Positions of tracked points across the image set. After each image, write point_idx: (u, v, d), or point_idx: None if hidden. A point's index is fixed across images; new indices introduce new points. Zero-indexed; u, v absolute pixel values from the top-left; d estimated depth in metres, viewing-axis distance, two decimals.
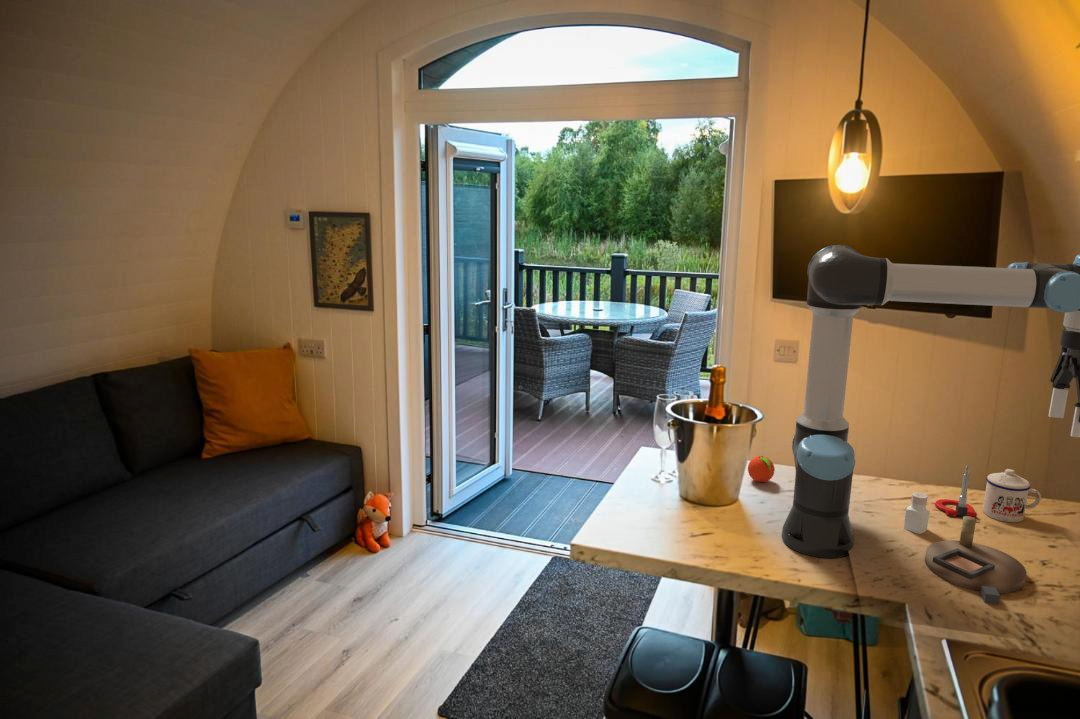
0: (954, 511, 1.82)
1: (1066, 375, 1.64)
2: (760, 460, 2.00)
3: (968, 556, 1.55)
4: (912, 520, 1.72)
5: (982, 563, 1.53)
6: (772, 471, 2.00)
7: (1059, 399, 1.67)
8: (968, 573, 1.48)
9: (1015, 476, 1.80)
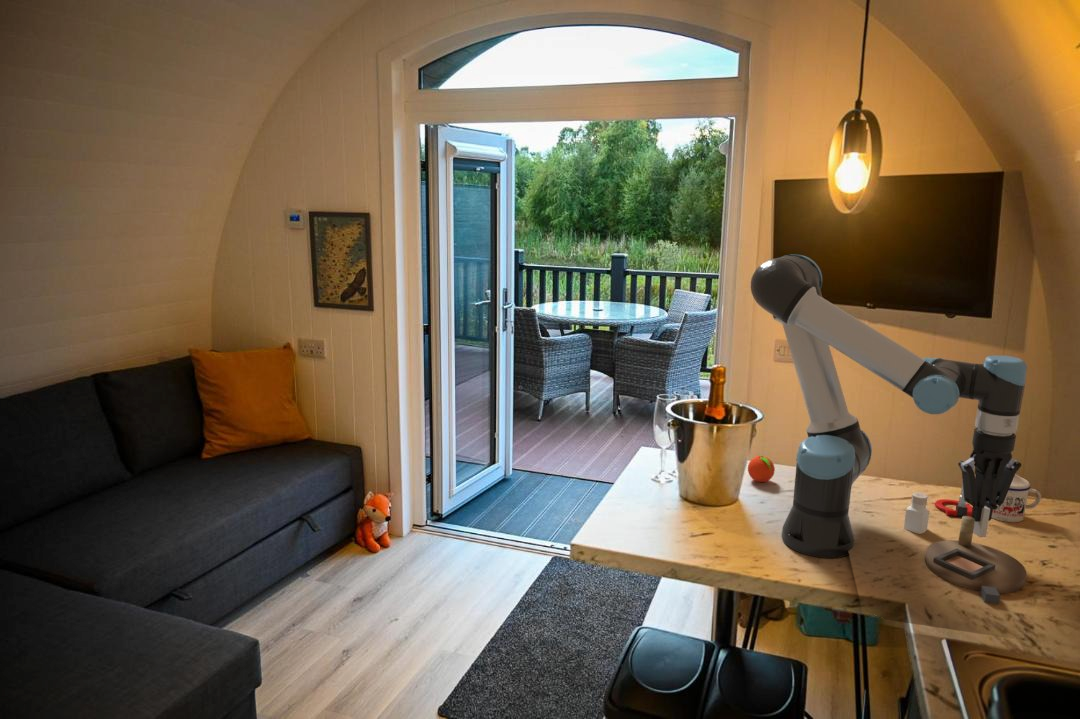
0: (954, 511, 1.82)
1: (988, 483, 1.60)
2: (760, 460, 2.00)
3: (968, 556, 1.55)
4: (912, 520, 1.72)
5: (982, 563, 1.53)
6: (772, 471, 2.00)
7: None
8: (969, 573, 1.48)
9: (1015, 476, 1.80)
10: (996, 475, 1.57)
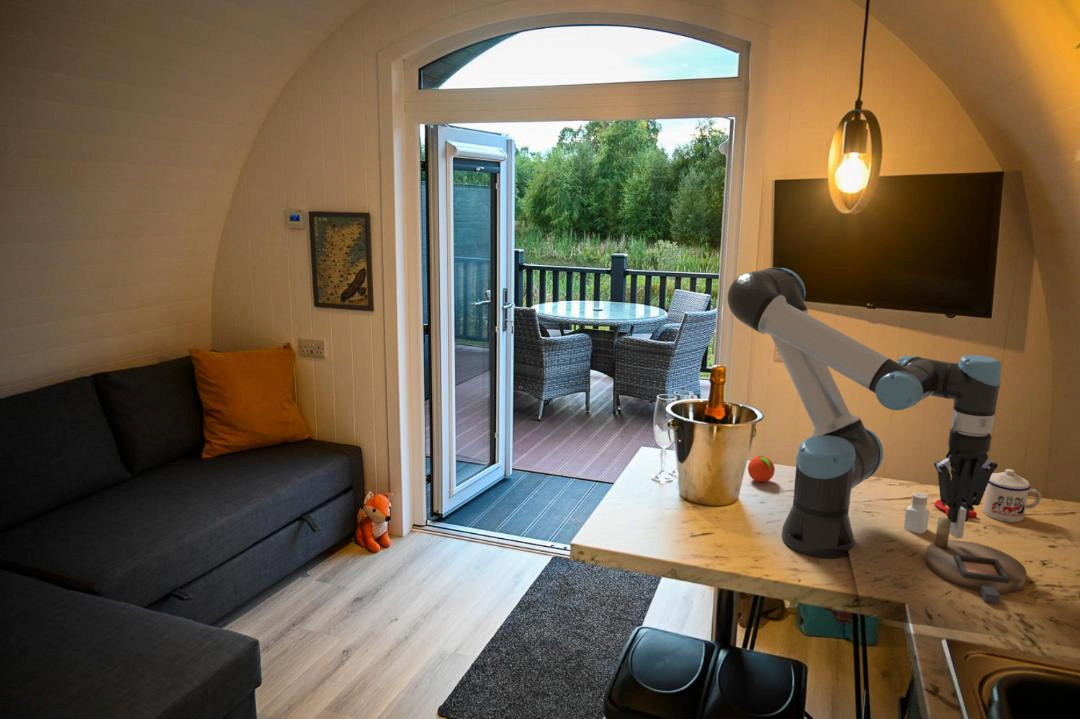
0: None
1: (965, 483, 1.59)
2: (760, 460, 2.00)
3: (971, 558, 1.54)
4: (912, 520, 1.72)
5: (987, 561, 1.54)
6: (772, 471, 2.00)
7: None
8: (1005, 578, 1.47)
9: (1015, 476, 1.80)
10: (972, 476, 1.57)
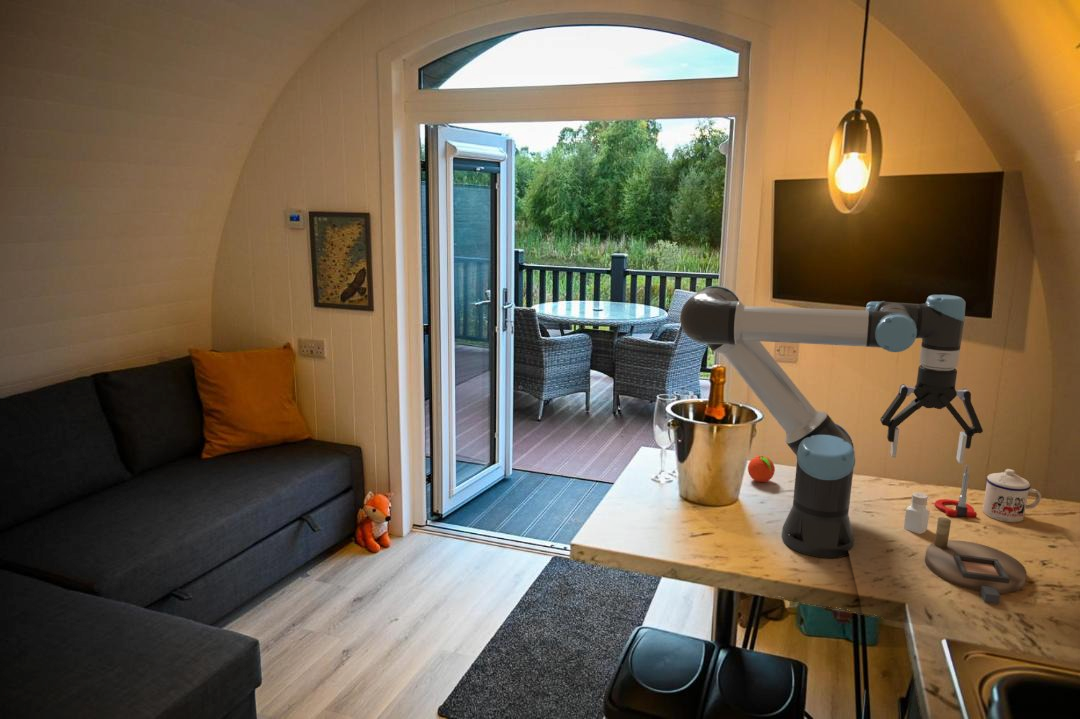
0: (954, 511, 1.83)
1: None
2: (760, 460, 2.00)
3: (971, 558, 1.54)
4: (912, 520, 1.72)
5: (987, 561, 1.54)
6: (772, 471, 2.00)
7: (960, 443, 1.67)
8: (1005, 578, 1.47)
9: (1015, 476, 1.80)
10: (948, 409, 1.64)
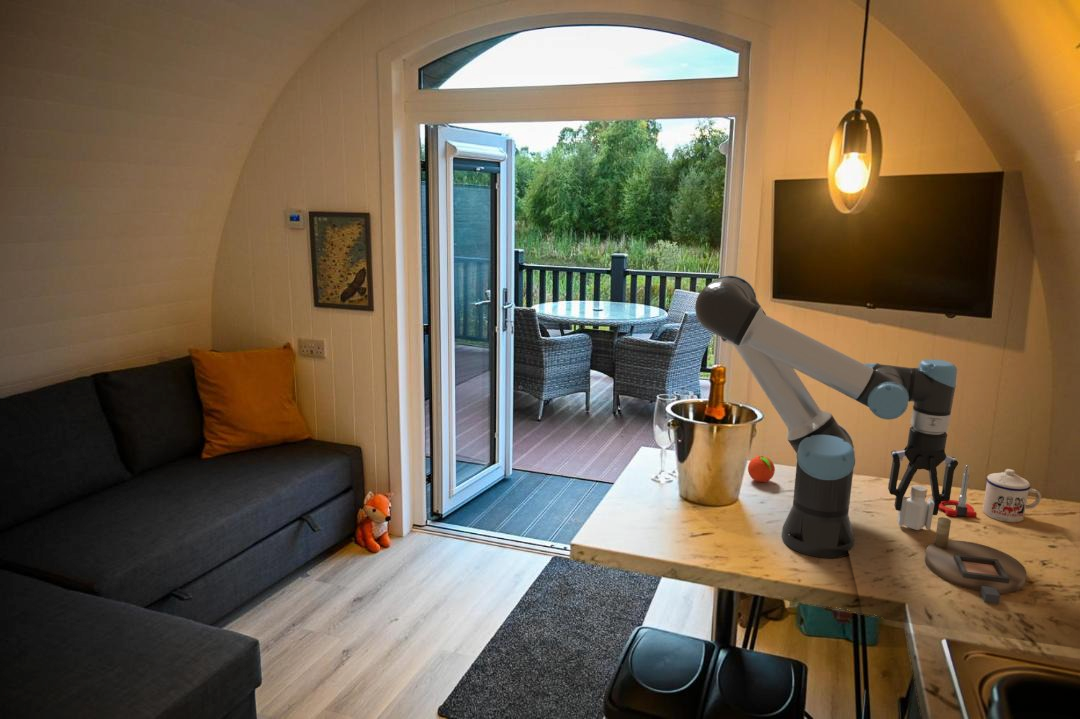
0: (954, 511, 1.83)
1: (930, 479, 1.70)
2: (760, 460, 2.00)
3: (971, 558, 1.54)
4: (911, 513, 1.71)
5: (987, 561, 1.54)
6: (772, 471, 2.00)
7: (928, 509, 1.72)
8: (1005, 578, 1.47)
9: (1015, 476, 1.80)
10: (930, 472, 1.68)
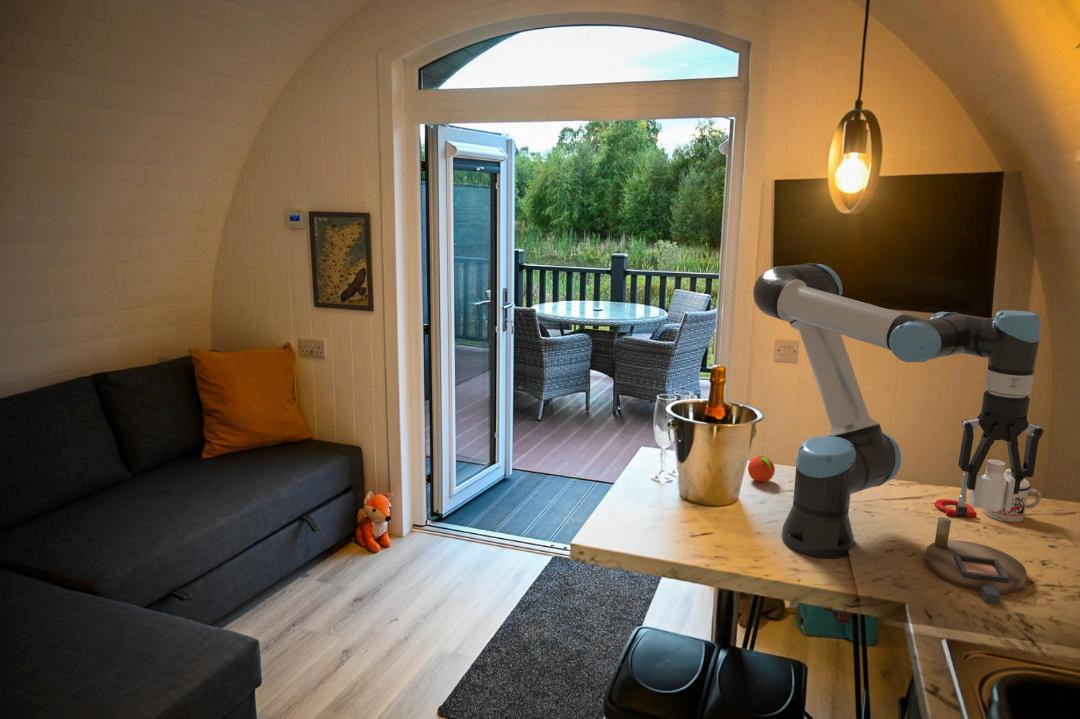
0: (954, 511, 1.83)
1: (1009, 452, 1.46)
2: (760, 460, 2.00)
3: (971, 558, 1.54)
4: (987, 491, 1.46)
5: (987, 561, 1.54)
6: (772, 471, 2.00)
7: None
8: (1005, 578, 1.47)
9: None
10: (1010, 443, 1.43)
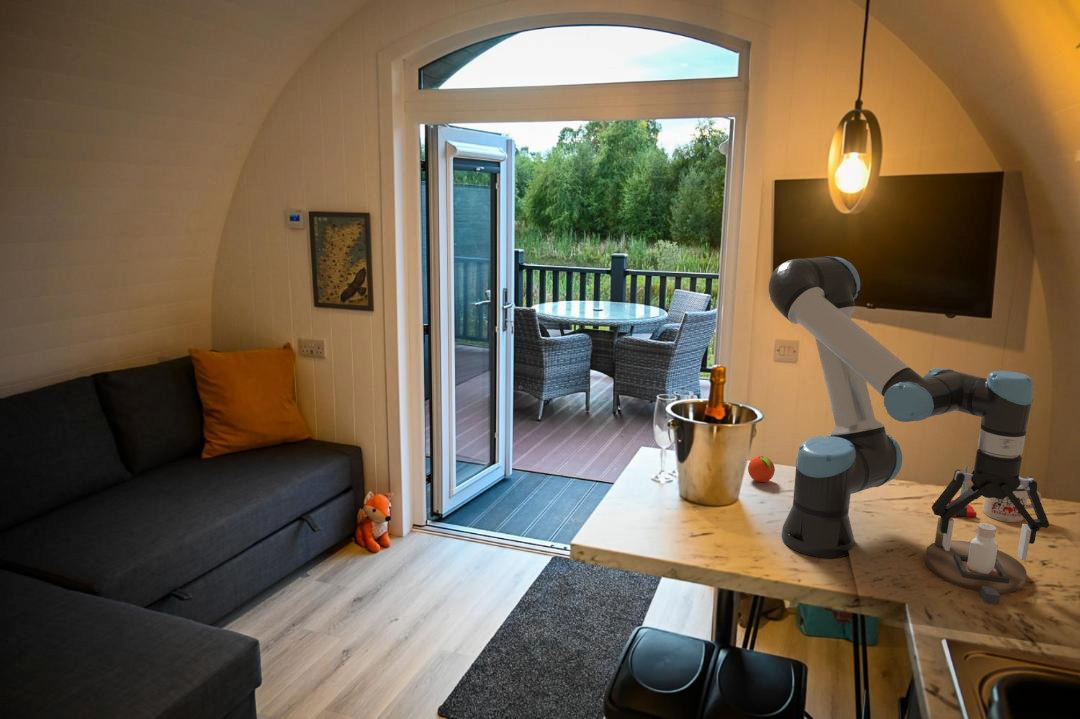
0: None
1: None
2: (760, 460, 2.00)
3: None
4: (978, 555, 1.49)
5: None
6: (772, 471, 2.00)
7: (1022, 537, 1.48)
8: (1005, 578, 1.47)
9: None
10: None
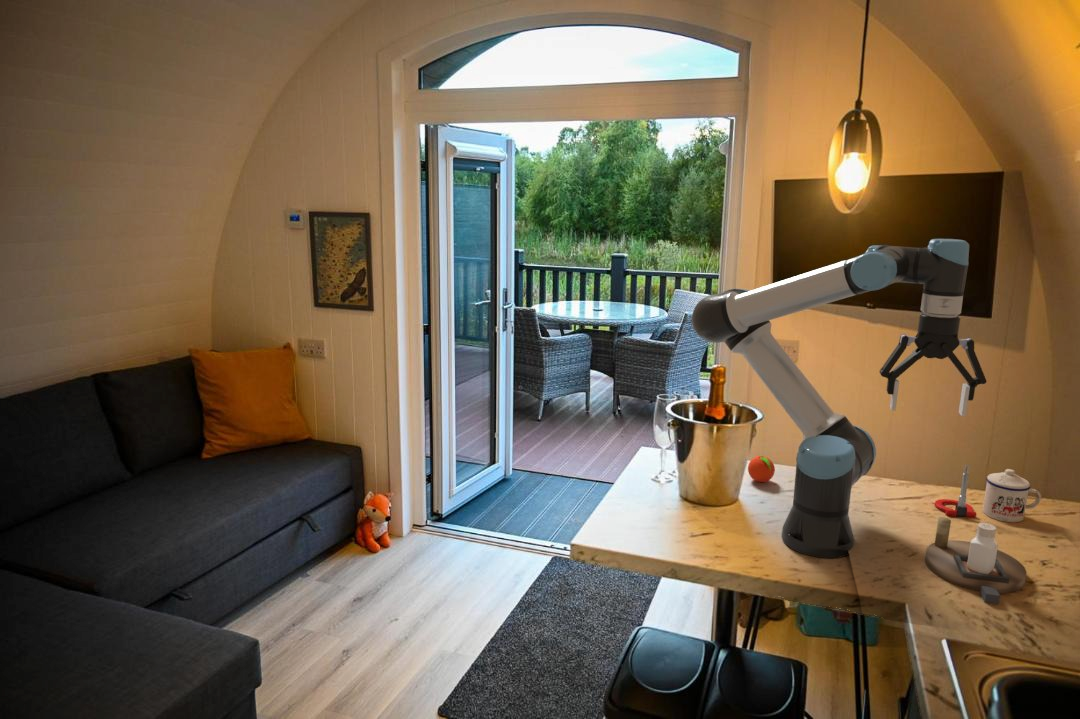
0: (953, 511, 1.83)
1: (955, 366, 1.59)
2: (760, 460, 2.00)
3: None
4: (978, 555, 1.49)
5: None
6: (772, 471, 1.99)
7: (962, 395, 1.60)
8: (1005, 578, 1.47)
9: (1015, 476, 1.80)
10: (950, 359, 1.57)
